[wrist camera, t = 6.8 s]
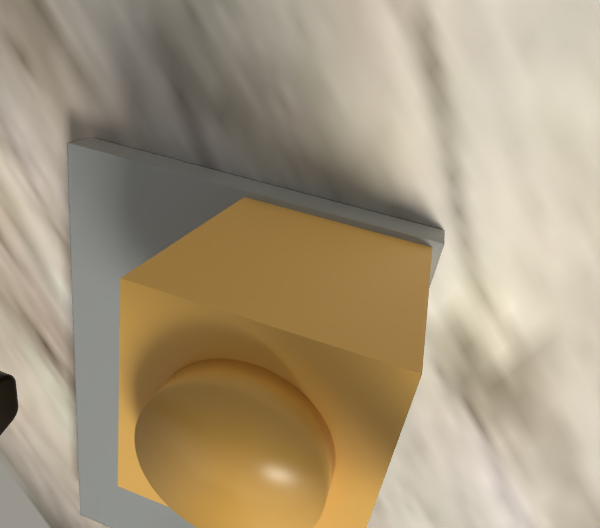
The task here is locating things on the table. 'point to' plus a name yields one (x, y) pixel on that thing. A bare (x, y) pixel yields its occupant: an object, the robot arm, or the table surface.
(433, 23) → the table surface
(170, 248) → the domed push button
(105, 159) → the plate
